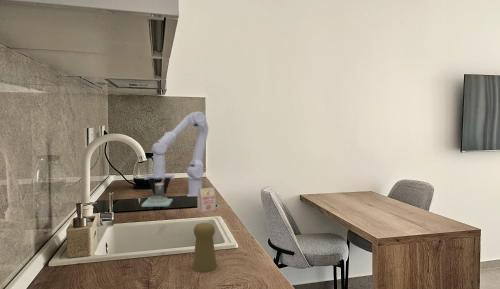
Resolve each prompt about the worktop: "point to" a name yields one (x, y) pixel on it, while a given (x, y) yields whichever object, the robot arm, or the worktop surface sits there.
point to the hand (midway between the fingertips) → (159, 193)
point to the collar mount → (157, 199)
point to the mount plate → (157, 203)
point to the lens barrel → (159, 189)
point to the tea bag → (206, 200)
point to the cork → (204, 248)
